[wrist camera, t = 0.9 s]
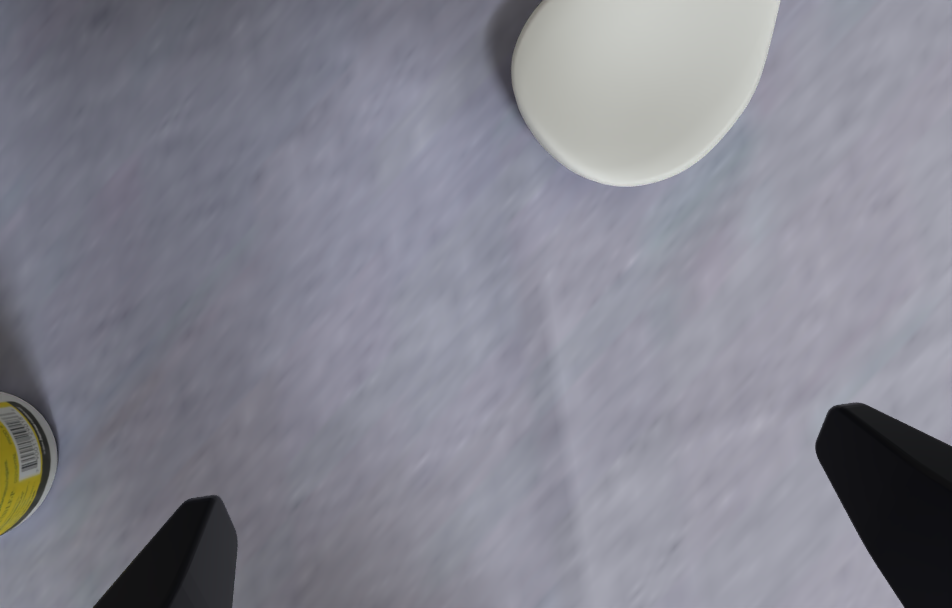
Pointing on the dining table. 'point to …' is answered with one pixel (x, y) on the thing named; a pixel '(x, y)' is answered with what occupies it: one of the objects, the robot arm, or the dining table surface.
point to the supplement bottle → (23, 460)
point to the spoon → (638, 81)
